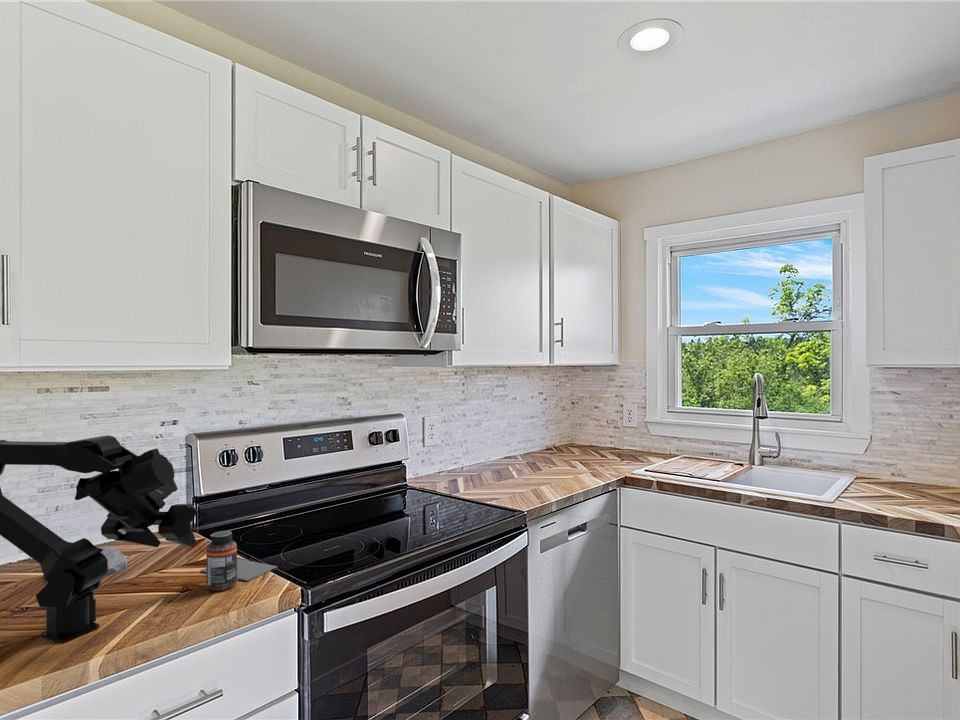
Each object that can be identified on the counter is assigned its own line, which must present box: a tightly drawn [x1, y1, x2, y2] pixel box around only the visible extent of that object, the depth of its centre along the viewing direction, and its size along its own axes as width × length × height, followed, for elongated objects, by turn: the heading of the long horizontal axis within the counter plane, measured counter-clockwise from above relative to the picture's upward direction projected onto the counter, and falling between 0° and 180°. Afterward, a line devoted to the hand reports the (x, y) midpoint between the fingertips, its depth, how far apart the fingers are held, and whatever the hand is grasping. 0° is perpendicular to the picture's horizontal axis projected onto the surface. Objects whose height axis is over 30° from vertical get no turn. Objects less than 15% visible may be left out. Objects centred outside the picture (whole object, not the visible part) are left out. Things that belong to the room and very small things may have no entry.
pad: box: [200, 558, 278, 582], centre depth 134 cm, size 9×14×1 cm, turn 66°
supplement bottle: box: [206, 530, 238, 592], centre depth 125 cm, size 6×6×11 cm
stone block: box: [99, 546, 128, 576], centre depth 133 cm, size 12×5×10 cm
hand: (176, 544), depth 115 cm, fingers open, 9 cm apart
